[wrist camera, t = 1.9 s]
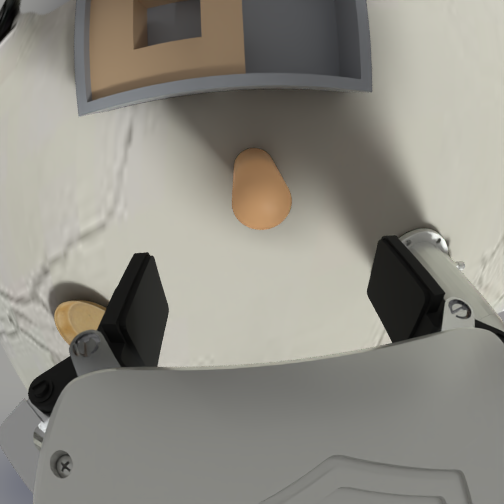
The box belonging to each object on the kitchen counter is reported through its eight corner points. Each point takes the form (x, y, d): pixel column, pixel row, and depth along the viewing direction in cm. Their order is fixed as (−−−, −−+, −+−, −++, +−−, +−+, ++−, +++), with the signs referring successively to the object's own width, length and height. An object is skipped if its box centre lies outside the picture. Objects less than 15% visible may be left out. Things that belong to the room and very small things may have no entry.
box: (336, -28, 15) (357, -49, 10) (345, 92, 23) (372, 92, 18) (105, -8, 14) (79, -24, 9) (108, 111, 22) (78, 116, 17)
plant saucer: (46, 305, 36) (40, 316, 34) (95, 276, 33) (88, 288, 31) (101, 359, 43) (98, 370, 41) (157, 343, 40) (154, 356, 38)
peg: (273, 147, 26) (291, 172, 17) (274, 185, 28) (291, 228, 19) (232, 149, 26) (229, 176, 17) (235, 187, 28) (234, 231, 19)
